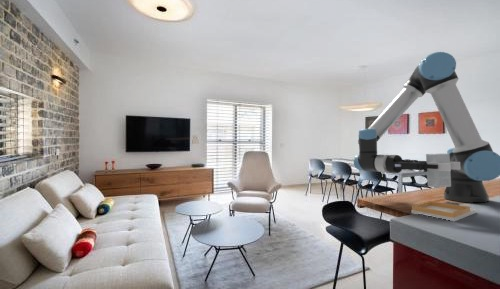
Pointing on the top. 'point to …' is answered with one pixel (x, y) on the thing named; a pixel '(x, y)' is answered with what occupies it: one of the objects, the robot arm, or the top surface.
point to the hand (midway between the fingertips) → (455, 166)
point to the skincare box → (438, 177)
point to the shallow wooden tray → (443, 210)
